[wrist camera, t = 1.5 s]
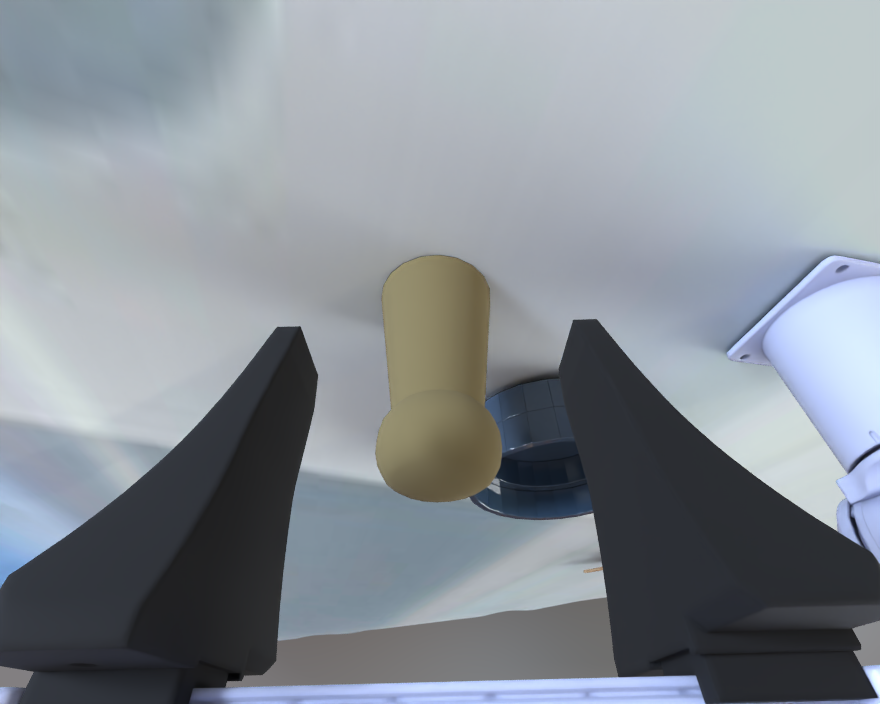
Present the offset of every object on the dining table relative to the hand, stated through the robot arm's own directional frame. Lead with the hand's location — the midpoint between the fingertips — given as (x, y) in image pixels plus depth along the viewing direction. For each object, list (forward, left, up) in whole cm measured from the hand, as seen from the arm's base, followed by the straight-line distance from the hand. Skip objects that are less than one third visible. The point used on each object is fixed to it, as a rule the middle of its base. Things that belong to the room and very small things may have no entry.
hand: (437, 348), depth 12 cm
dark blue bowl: (-12, +18, -10) cm, 24 cm away
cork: (-1, +7, -10) cm, 13 cm away
